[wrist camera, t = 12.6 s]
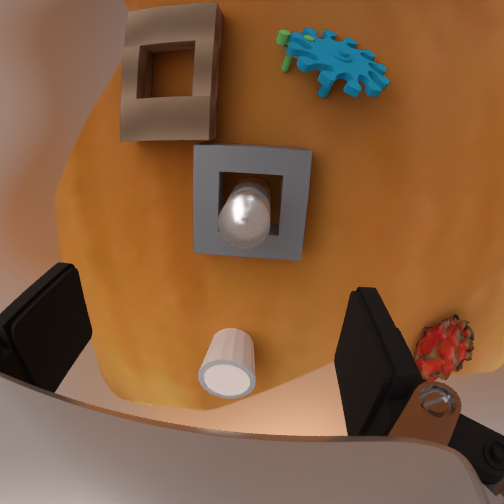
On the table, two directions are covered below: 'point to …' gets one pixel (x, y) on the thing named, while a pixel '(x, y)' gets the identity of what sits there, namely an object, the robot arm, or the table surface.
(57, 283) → the robot arm
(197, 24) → the brown rectangular frame
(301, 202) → the socket block
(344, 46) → the gear
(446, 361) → the dragon fruit
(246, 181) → the axle
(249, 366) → the white fluted cup
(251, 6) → the table surface
